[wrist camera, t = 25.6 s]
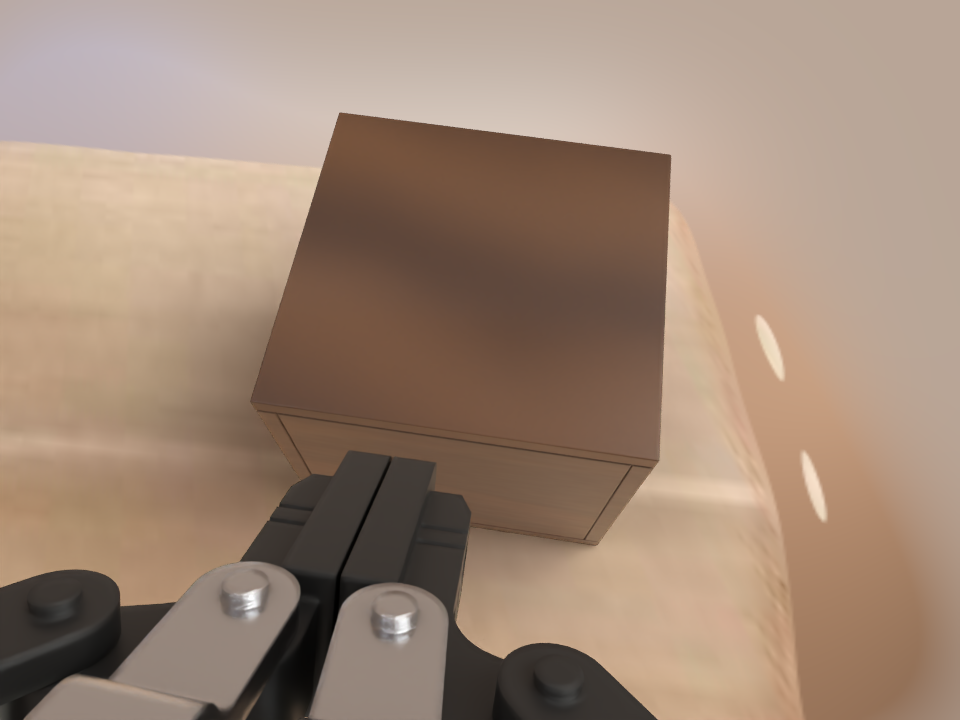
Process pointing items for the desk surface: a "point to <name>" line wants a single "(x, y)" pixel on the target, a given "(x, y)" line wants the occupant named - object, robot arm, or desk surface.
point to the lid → (479, 291)
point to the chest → (479, 475)
